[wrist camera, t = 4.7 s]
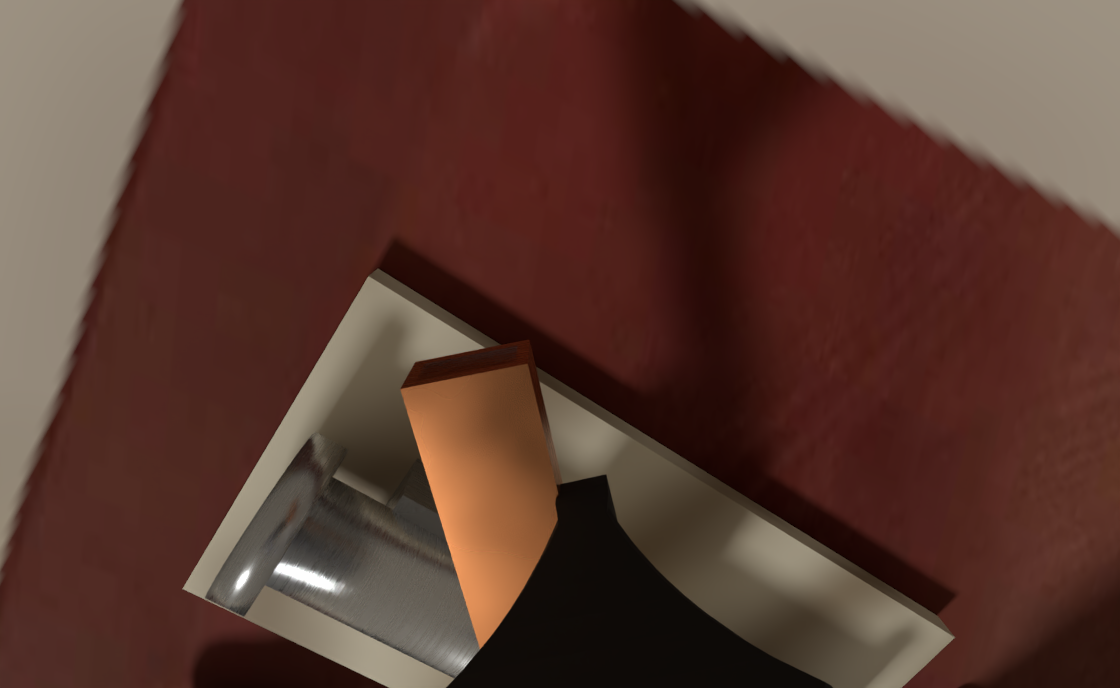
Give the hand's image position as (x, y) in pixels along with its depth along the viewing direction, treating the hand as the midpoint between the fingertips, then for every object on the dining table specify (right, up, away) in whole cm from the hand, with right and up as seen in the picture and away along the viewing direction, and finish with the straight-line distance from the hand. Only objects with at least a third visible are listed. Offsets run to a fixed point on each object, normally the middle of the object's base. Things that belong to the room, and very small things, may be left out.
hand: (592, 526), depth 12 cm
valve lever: (-1, -3, +1) cm, 3 cm away
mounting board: (0, -5, +10) cm, 11 cm away
